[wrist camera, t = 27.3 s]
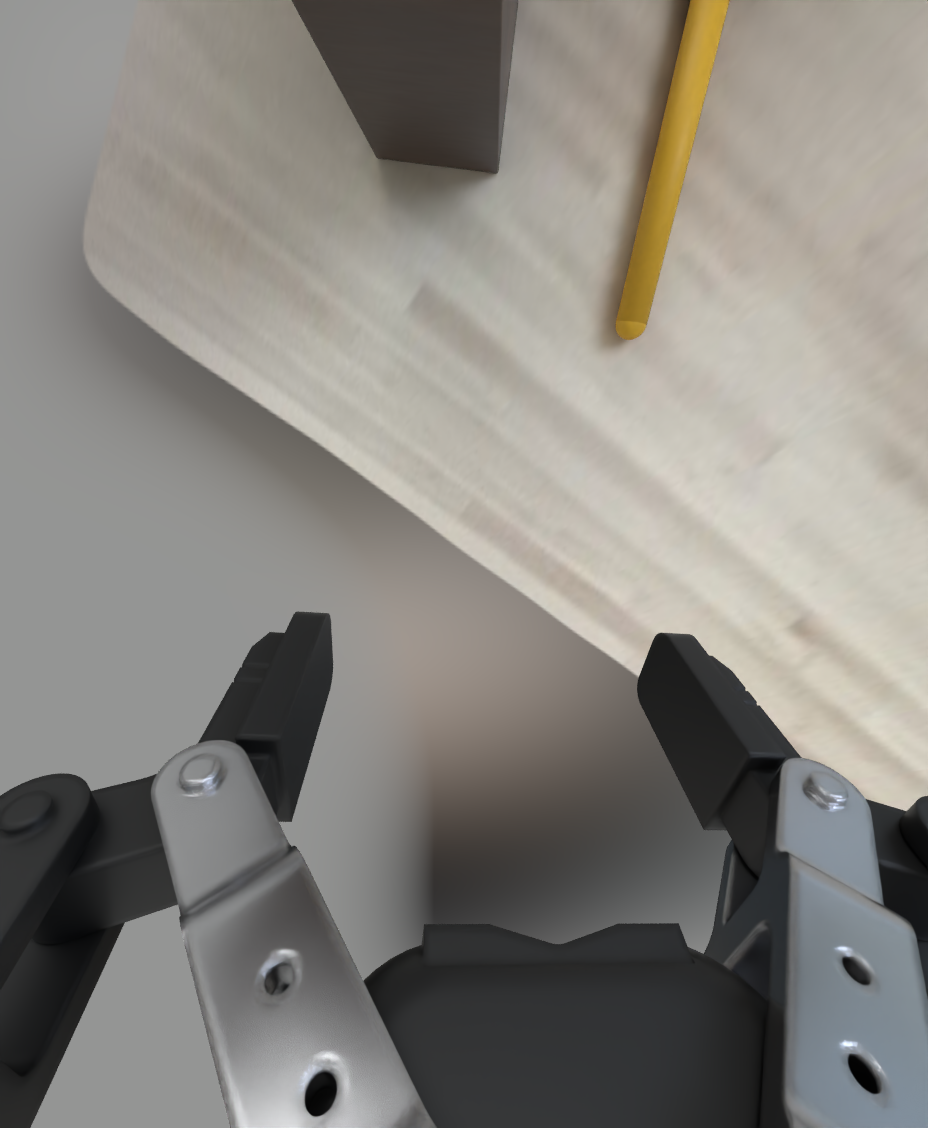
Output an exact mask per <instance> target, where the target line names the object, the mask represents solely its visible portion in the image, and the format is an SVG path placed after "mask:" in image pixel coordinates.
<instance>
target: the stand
mask: <svg viewBox="0 0 928 1128" xmlns="http://www.w3.org/2000/svg"><path fill="white" fill-rule="evenodd" d="M292 2H293V4H294V6H295V7H296V9H297V11H298V13H299V15H300V17H301V19H302V20H303V22H304V24H305V26H306V28H307V30H308V32H309V33H310V35H311V37H312V39H313V41H314V43H315V44H316V46H317V48H318V50H319V52H320V54H321V56H322V57H323V59H324V61H325V63H326V65H327V67H328V68H329V70H330V72H331V74H332V76H333V78H334V80H335V81H336V83H337V85H338V87H339V89H340V91H341V93H342V94H343V96H344V98H345V100H346V102H347V104H348V105H349V107H350V109H351V111H352V113H353V115H354V117H355V118H356V120H357V122H358V124H359V126H360V128H361V129H362V131H363V133H364V135H365V137H366V139H367V141H368V142H369V144H370V146H371V148H372V150H373V152H374V154H375V155H376V157H377V158H380V159H388V160H396V161H404V162H411V163H419V164H427V165H435V166H443V167H451V168H459V169H467V170H475V171H483V172H491V173H498V170H499V161H500V153H501V144H502V136H503V127H504V119H505V110H506V102H507V93H508V85H509V76H510V68H511V59H512V51H513V42H514V34H515V25H516V17H517V8H518V0H292Z"/></svg>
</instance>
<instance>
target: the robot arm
mask: <svg viewBox="0 0 928 1128" xmlns="http://www.w3.org/2000/svg"><path fill="white" fill-rule="evenodd" d="M332 674H333V654H332V635H331V619H330V615H329V614H328V613H311V612H295V614H294V615H293V617H292V619H291V621H290V623H289V626H288V628H287V630H286V632H285V633H275V632H269V633H268V634H267V635H266V636H265V637H263V638H262V639H261V640H260V641H258V642H257V643H256V644H255V645H254V646H252V648H251V649H250V651H249V653H248V655H247V657H246V659H245V660H244V662H243V664H242V668H240V669H239V671H238V673H237V674H236V676H235V678H234V683H233V682H232V683H231V685H230V687H229V689H228V691H227V692H226V694H225V696H224V698H223V700H222V701H221V703H220V705H219V707H218V709H217V710H216V712H215V714H214V716H213V718H212V719H211V721H210V723H209V725H208V726H207V728H206V730H205V732H204V734H203V735H202V737H201V739H200V740H199V742H198V743H197V744H196V745H193V746H190V747H188V748H186V749H184V750H183V751H181V752H179V753H178V754H176V755H175V756H174V757H173V758H171V759H170V760H169V761H168V762H167V763H166V764H165V765H164V766H163V767H162V768H161V769H160V771H159V772H158V774H155V775H153V776H150V777H147V778H143V779H140V780H136V781H131V782H127V783H123V784H119V785H115V786H111V787H107V788H102V789H98V790H94V791H90V788H89V787H88V785H87V783H86V782H85V781H84V780H83V779H82V778H80V777H78V776H76V775H72V774H51V775H46V776H42V777H39V778H35V779H32V780H30V781H28V782H25V783H22V784H20V785H18V786H16V787H14V788H12V789H10V790H9V791H7V792H6V793H4V794H2V795H1V796H0V1128H30V1127H31V1125H32V1123H33V1121H34V1119H35V1116H36V1114H37V1112H38V1110H39V1108H40V1105H41V1103H42V1101H43V1099H44V1097H45V1095H46V1092H47V1090H48V1088H49V1086H50V1084H51V1082H52V1079H53V1077H54V1075H55V1073H56V1071H57V1068H58V1066H59V1064H60V1062H61V1060H62V1058H63V1056H64V1053H65V1051H66V1049H67V1047H68V1045H69V1042H70V1040H71V1038H72V1036H73V1034H74V1031H75V1029H76V1027H77V1025H78V1023H79V1021H80V1018H81V1016H82V1014H83V1012H84V1010H85V1008H86V1006H87V1003H88V1001H89V999H90V997H91V994H92V992H93V990H94V988H95V986H96V984H97V982H98V979H99V977H100V975H101V973H102V971H103V969H104V966H105V964H106V962H107V960H108V958H109V955H110V953H111V951H112V949H113V947H114V945H115V943H116V940H117V938H118V936H119V934H120V932H121V929H122V927H123V925H124V923H125V922H127V921H130V920H133V919H136V918H139V917H142V916H145V915H148V914H151V913H154V912H156V911H160V910H163V909H166V908H168V907H171V906H174V905H177V904H178V905H179V909H180V915H181V916H180V926H181V931H182V935H183V940H184V944H185V948H186V952H187V956H188V960H189V964H190V968H191V972H192V976H193V980H194V984H195V988H196V992H197V996H198V1000H199V1004H200V1008H201V1012H202V1016H203V1020H204V1024H205V1028H206V1032H207V1036H208V1040H209V1044H210V1048H211V1052H212V1056H213V1060H214V1064H215V1068H216V1072H217V1076H218V1080H219V1084H220V1088H221V1092H222V1096H223V1100H224V1104H225V1108H226V1112H227V1116H228V1120H229V1124H230V1128H928V796H925V797H921V798H920V799H918V800H917V801H916V802H915V803H914V804H913V805H912V806H911V807H910V809H909V810H908V811H904V810H900V809H897V808H894V807H890V806H887V805H884V804H880V803H877V802H874V801H870V800H867V799H865V798H864V797H863V795H862V794H861V793H860V792H859V790H858V789H857V788H856V787H855V786H854V785H853V784H852V783H851V782H849V781H848V780H847V779H846V778H845V777H843V776H842V775H840V774H839V773H837V772H836V771H834V770H833V769H831V768H829V767H827V766H825V765H823V764H821V763H818V762H816V761H813V760H809V759H804V758H801V757H800V755H799V754H798V753H797V752H796V750H795V749H794V748H793V747H792V745H791V744H790V743H789V742H788V740H787V739H786V738H785V737H784V735H783V734H782V733H781V732H780V730H779V729H778V728H777V727H776V725H775V724H774V723H773V722H772V720H771V719H770V718H769V717H768V715H767V714H766V713H765V712H764V710H763V709H762V708H761V707H760V706H757V704H756V703H757V702H756V700H755V699H754V698H753V697H752V695H751V694H750V693H749V692H748V691H745V687H744V685H743V684H742V683H741V682H740V681H739V679H738V678H737V677H736V676H735V674H734V673H733V672H732V671H731V670H730V669H729V668H727V667H726V666H725V665H723V664H722V663H721V662H719V661H718V660H717V659H716V658H714V657H713V656H709V655H708V654H707V652H706V651H705V650H704V649H703V647H702V646H701V645H700V643H699V642H698V641H697V639H696V638H695V637H694V636H692V635H690V634H674V633H659V634H657V635H656V636H655V638H654V640H653V642H652V645H651V647H650V650H649V652H648V655H647V658H646V660H645V663H644V665H643V668H642V671H641V673H640V676H639V679H638V685H637V692H638V698H639V701H640V704H641V706H642V708H643V710H644V712H645V714H646V716H647V718H648V720H649V722H650V724H651V726H652V728H653V730H654V732H655V734H656V736H657V738H658V740H659V742H660V744H661V746H662V748H663V750H664V752H665V754H666V756H667V758H668V760H669V762H670V764H671V766H672V768H673V770H674V771H675V774H676V776H677V777H678V780H679V781H680V783H681V786H682V788H683V790H684V791H685V793H686V795H687V797H688V799H689V801H690V803H691V805H692V807H693V809H694V811H695V813H696V815H697V817H698V819H699V821H700V823H701V825H702V827H703V829H704V830H727V831H728V833H729V835H730V837H731V838H732V840H731V842H730V843H729V845H728V847H727V850H726V854H725V861H724V866H723V873H722V879H721V885H720V891H719V897H718V903H717V909H716V915H715V922H714V928H713V932H712V935H711V938H710V941H709V944H708V946H707V948H706V950H705V953H704V954H702V953H700V952H698V951H696V950H693V949H691V948H689V947H687V944H686V942H685V939H684V936H683V934H682V931H681V929H680V926H679V924H678V923H677V924H616V925H614V926H611V927H608V928H605V929H603V930H600V931H598V932H595V933H592V934H589V935H587V936H584V937H581V938H578V939H575V940H573V941H570V942H567V943H564V944H552V943H548V942H545V941H542V940H538V939H535V938H532V937H528V936H525V935H522V934H519V933H516V932H512V931H509V930H506V929H503V928H499V927H496V926H493V925H490V924H439V925H437V924H428V925H424V930H423V938H422V945H420V946H418V947H415V948H412V949H409V950H407V951H405V952H403V953H401V954H399V955H397V956H395V957H393V958H392V959H390V960H388V961H387V962H386V963H384V964H383V965H381V966H380V967H379V968H377V969H376V970H375V971H374V972H372V973H371V974H370V975H369V976H368V977H367V978H366V979H365V980H364V981H363V980H362V977H361V975H360V973H359V971H358V969H357V967H356V965H355V963H354V961H353V959H352V957H351V955H350V953H349V951H348V949H347V947H346V944H345V942H344V940H343V938H342V937H341V934H340V932H339V930H338V928H337V926H336V924H335V922H334V920H333V918H332V916H331V913H330V911H329V909H328V907H327V905H326V903H325V901H324V899H323V897H322V895H321V893H320V891H319V889H318V887H317V885H316V882H315V881H314V878H313V876H312V875H311V872H310V870H309V868H308V866H307V864H306V862H305V860H304V858H303V857H302V855H301V853H300V851H299V850H298V849H297V847H296V846H292V847H291V845H290V844H289V842H288V840H287V839H286V836H285V834H284V832H283V830H282V828H281V826H280V824H279V822H280V821H281V822H282V821H283V822H292V818H293V814H294V811H295V808H296V804H297V801H298V797H299V794H300V790H301V787H302V784H303V780H304V777H305V773H306V770H307V767H308V763H309V760H310V756H311V753H312V749H313V746H314V743H315V739H316V736H317V732H318V729H319V725H320V722H321V718H322V715H323V712H324V708H325V705H326V701H327V698H328V694H329V691H330V687H331V682H332Z"/></svg>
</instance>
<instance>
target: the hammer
mask: <svg viewBox="0 0 928 1128" xmlns="http://www.w3.org/2000/svg"><path fill="white" fill-rule="evenodd" d="M729 1H730V0H691V1H690V5H689V9H688V14H687V18H686V22H685V27H684V31H683V35H682V40H681V44H680V48H679V52H678V57H677V61H676V65H675V70H674V74H673V78H672V83H671V87H670V91H669V96H668V100H667V104H666V109H665V113H664V117H663V121H662V126H661V130H660V134H659V139H658V143H657V147H656V152H655V156H654V160H653V165H652V169H651V173H650V177H649V182H648V186H647V190H646V195H645V199H644V203H643V208H642V212H641V216H640V221H639V225H638V229H637V234H636V238H635V242H634V246H633V251H632V255H631V259H630V264H629V268H628V272H627V277H626V281H625V285H624V290H623V294H622V298H621V302H620V307H619V311H618V315H617V320H616V331H617V333H618V335H619V336H620V337H621V338H623V339H626V340H632V339H635V338H637V337H639V336H640V335H641V334H642V333H643V331H644V330H645V328H646V325H647V321H648V317H649V313H650V309H651V305H652V302H653V298H654V294H655V290H656V286H657V282H658V278H659V274H660V270H661V266H662V263H663V259H664V255H665V251H666V247H667V243H668V239H669V235H670V231H671V227H672V224H673V220H674V216H675V212H676V208H677V204H678V200H679V196H680V192H681V188H682V185H683V181H684V177H685V173H686V169H687V165H688V161H689V157H690V153H691V149H692V146H693V142H694V138H695V134H696V130H697V126H698V122H699V118H700V114H701V110H702V106H703V103H704V99H705V95H706V91H707V87H708V83H709V79H710V75H711V71H712V67H713V64H714V60H715V56H716V52H717V48H718V44H719V40H720V36H721V32H722V28H723V25H724V21H725V17H726V13H727V9H728V5H729Z"/></svg>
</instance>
